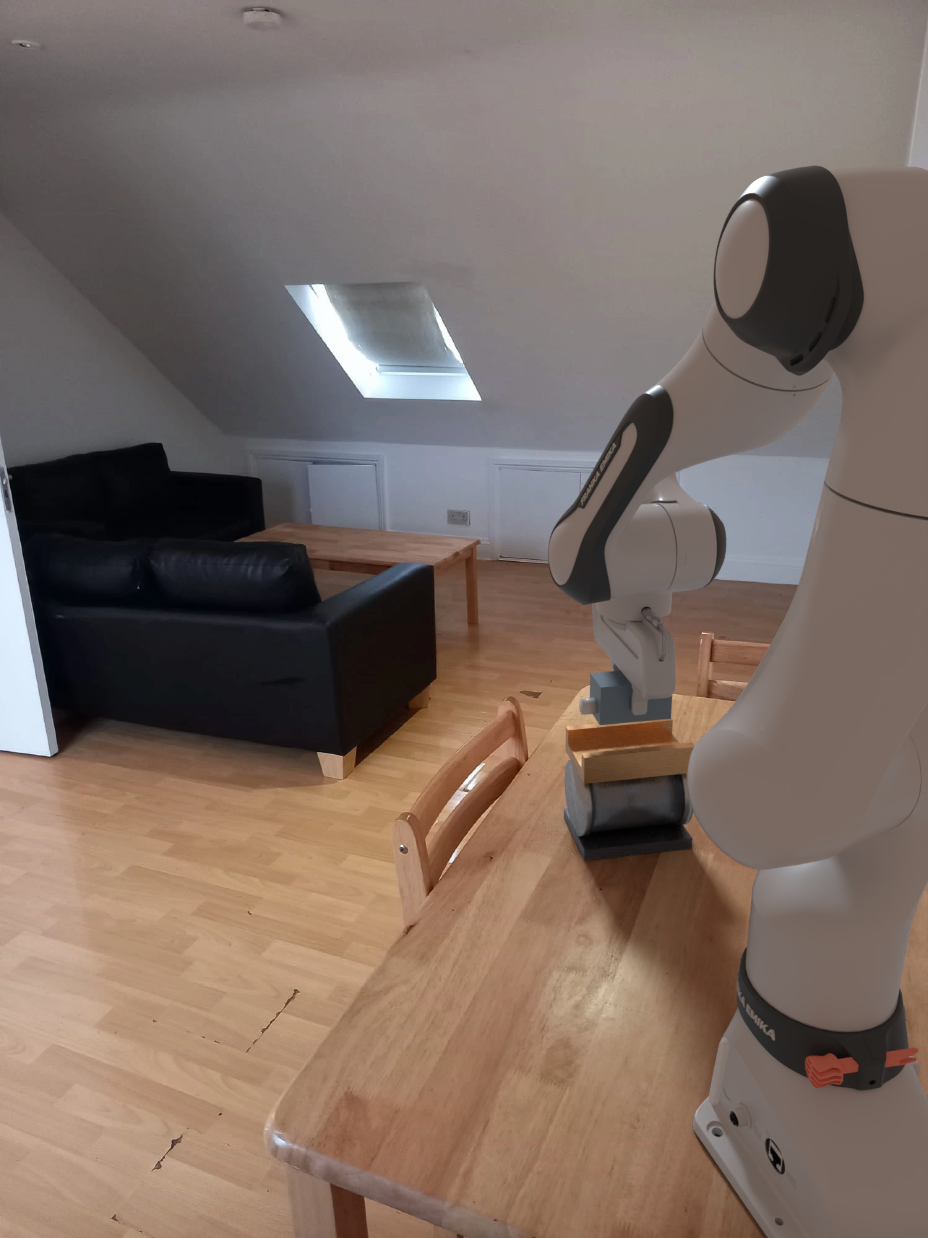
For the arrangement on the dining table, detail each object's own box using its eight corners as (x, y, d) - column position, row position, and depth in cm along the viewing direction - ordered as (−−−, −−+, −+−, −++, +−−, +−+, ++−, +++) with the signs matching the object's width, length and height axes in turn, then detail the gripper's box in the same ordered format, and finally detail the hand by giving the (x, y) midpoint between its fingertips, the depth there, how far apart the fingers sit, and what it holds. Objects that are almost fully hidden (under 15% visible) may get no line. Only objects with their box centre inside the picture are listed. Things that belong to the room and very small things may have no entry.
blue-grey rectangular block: (670, 718, 104) (673, 681, 103) (586, 726, 103) (587, 688, 101) (657, 703, 109) (659, 667, 107) (576, 710, 107) (576, 674, 106)
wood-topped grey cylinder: (691, 848, 108) (698, 749, 103) (584, 860, 106) (585, 760, 101) (663, 807, 117) (667, 714, 112) (563, 817, 115) (564, 724, 111)
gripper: (693, 622, 92) (686, 737, 96) (631, 571, 111) (628, 669, 115) (637, 626, 91) (632, 743, 95) (584, 574, 110) (582, 673, 114)
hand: (629, 702), depth 105 cm, fingers closed on blue-grey rectangular block, 4 cm apart
